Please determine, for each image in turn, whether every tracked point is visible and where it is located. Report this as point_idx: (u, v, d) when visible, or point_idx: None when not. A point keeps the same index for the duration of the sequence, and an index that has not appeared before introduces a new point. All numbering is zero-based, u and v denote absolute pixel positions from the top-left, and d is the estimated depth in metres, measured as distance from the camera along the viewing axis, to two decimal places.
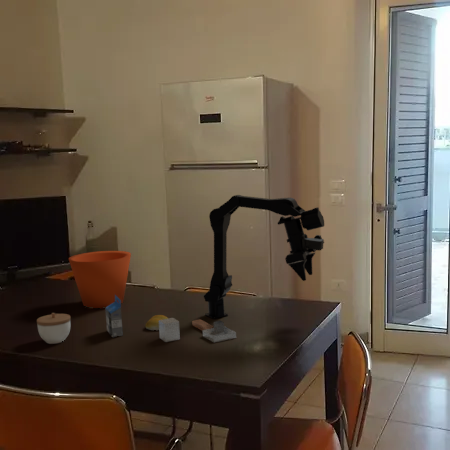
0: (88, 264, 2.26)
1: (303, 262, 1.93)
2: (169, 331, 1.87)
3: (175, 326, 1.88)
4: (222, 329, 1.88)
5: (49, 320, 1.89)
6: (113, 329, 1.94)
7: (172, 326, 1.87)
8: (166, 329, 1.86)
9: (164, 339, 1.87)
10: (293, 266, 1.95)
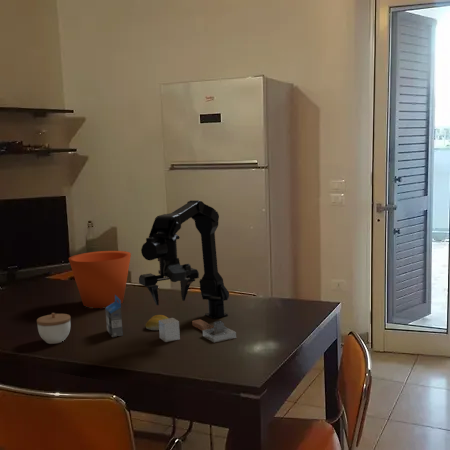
0: (88, 264, 2.26)
1: (151, 287, 1.82)
2: (169, 331, 1.87)
3: (175, 326, 1.88)
4: (222, 329, 1.88)
5: (49, 320, 1.89)
6: (113, 329, 1.94)
7: (172, 326, 1.87)
8: (166, 329, 1.86)
9: (164, 339, 1.87)
10: (148, 287, 1.86)
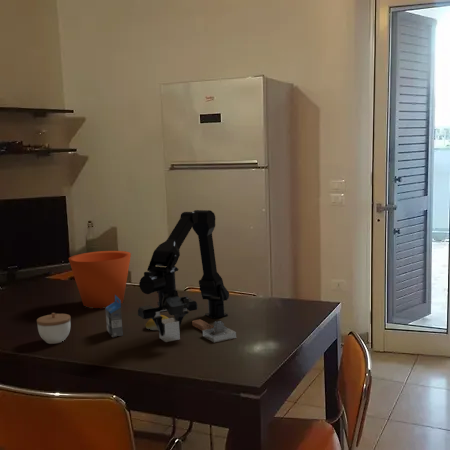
0: (88, 264, 2.26)
1: None
2: (169, 331, 1.87)
3: (175, 326, 1.88)
4: (222, 329, 1.88)
5: (49, 320, 1.89)
6: (113, 329, 1.94)
7: (172, 326, 1.87)
8: (166, 329, 1.86)
9: (164, 339, 1.87)
10: None
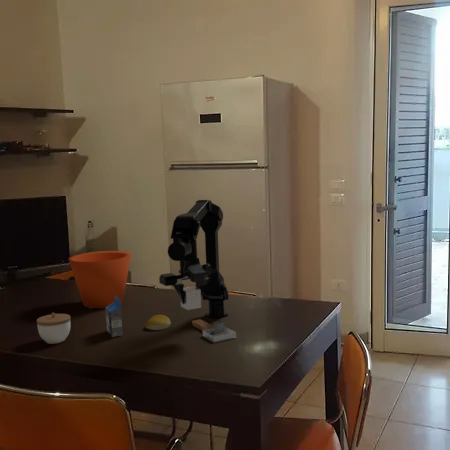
0: (88, 264, 2.26)
1: (177, 286, 1.84)
2: (191, 299, 1.86)
3: (196, 294, 1.86)
4: (222, 329, 1.88)
5: (49, 320, 1.89)
6: (113, 329, 1.94)
7: (193, 294, 1.86)
8: (187, 297, 1.85)
9: (185, 307, 1.86)
10: None
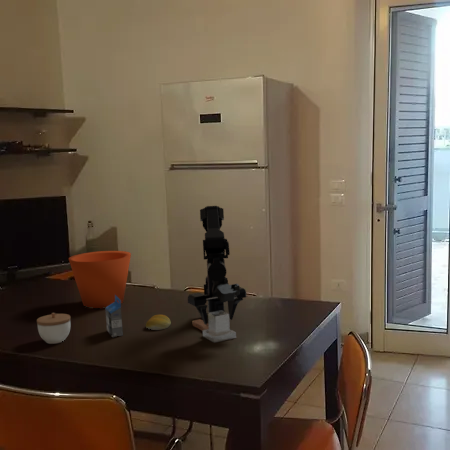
0: (88, 264, 2.26)
1: (200, 307, 1.83)
2: (220, 323, 1.86)
3: (225, 319, 1.87)
4: None
5: (49, 320, 1.89)
6: (113, 329, 1.94)
7: (222, 319, 1.87)
8: (217, 322, 1.86)
9: (214, 332, 1.87)
10: (197, 306, 1.87)
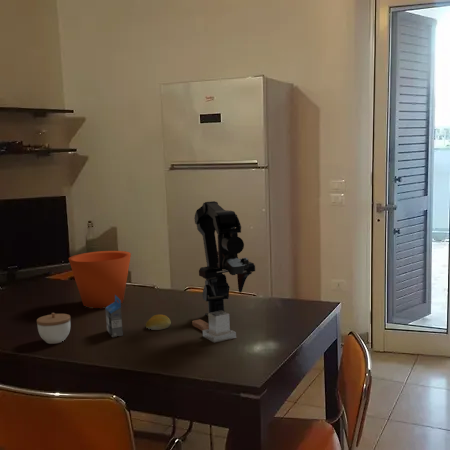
0: (88, 264, 2.26)
1: (211, 280, 1.92)
2: (220, 323, 1.86)
3: (225, 319, 1.87)
4: None
5: (49, 320, 1.89)
6: (113, 329, 1.94)
7: (222, 319, 1.86)
8: (217, 322, 1.86)
9: (214, 332, 1.86)
10: (208, 279, 1.95)
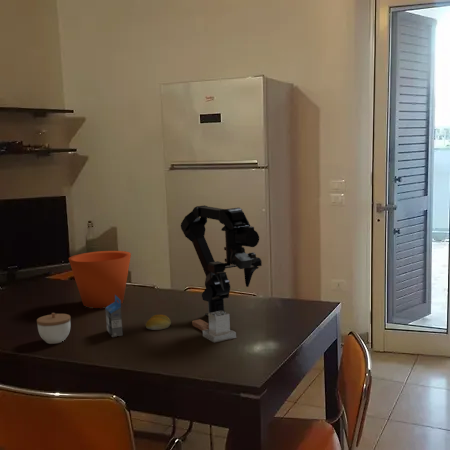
0: (88, 264, 2.26)
1: (220, 274, 1.98)
2: (220, 323, 1.86)
3: (226, 319, 1.87)
4: None
5: (49, 320, 1.89)
6: (113, 329, 1.94)
7: (223, 319, 1.86)
8: (217, 322, 1.85)
9: (215, 332, 1.86)
10: (216, 274, 2.02)
